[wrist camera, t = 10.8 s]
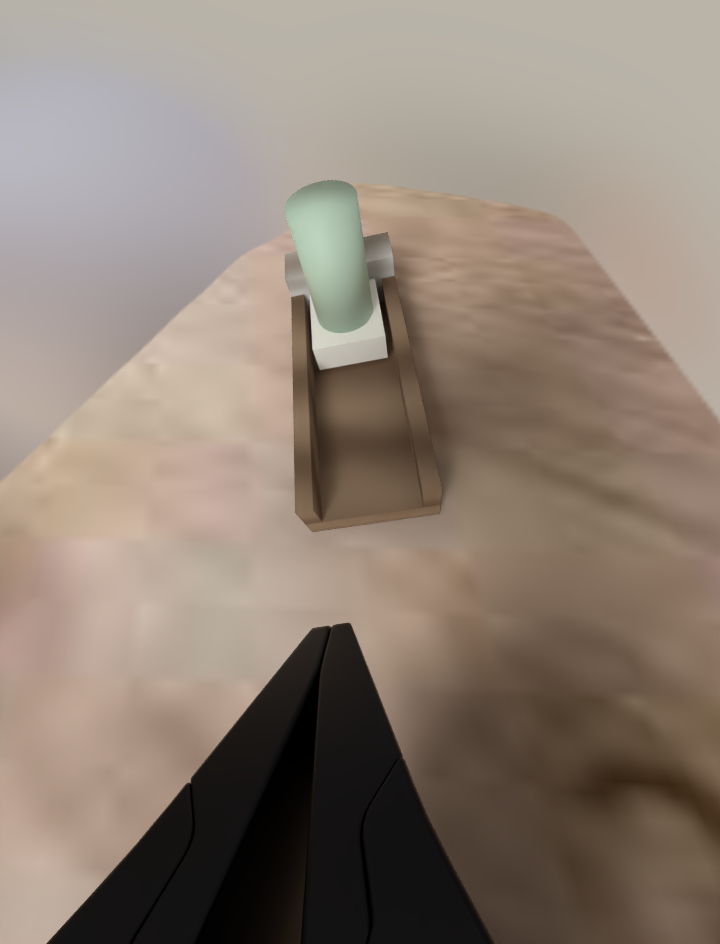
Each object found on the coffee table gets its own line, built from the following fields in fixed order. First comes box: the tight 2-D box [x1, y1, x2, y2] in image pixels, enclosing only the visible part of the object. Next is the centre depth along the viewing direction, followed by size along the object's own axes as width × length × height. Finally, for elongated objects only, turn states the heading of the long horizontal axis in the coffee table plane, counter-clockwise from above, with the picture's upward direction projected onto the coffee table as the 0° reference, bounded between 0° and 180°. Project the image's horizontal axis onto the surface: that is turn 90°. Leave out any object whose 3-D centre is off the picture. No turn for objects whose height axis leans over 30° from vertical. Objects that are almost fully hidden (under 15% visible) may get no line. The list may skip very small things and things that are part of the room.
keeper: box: [284, 180, 388, 370], centre depth 24 cm, size 6×5×9 cm
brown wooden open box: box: [285, 232, 442, 532], centre depth 25 cm, size 21×8×5 cm, turn 6°
